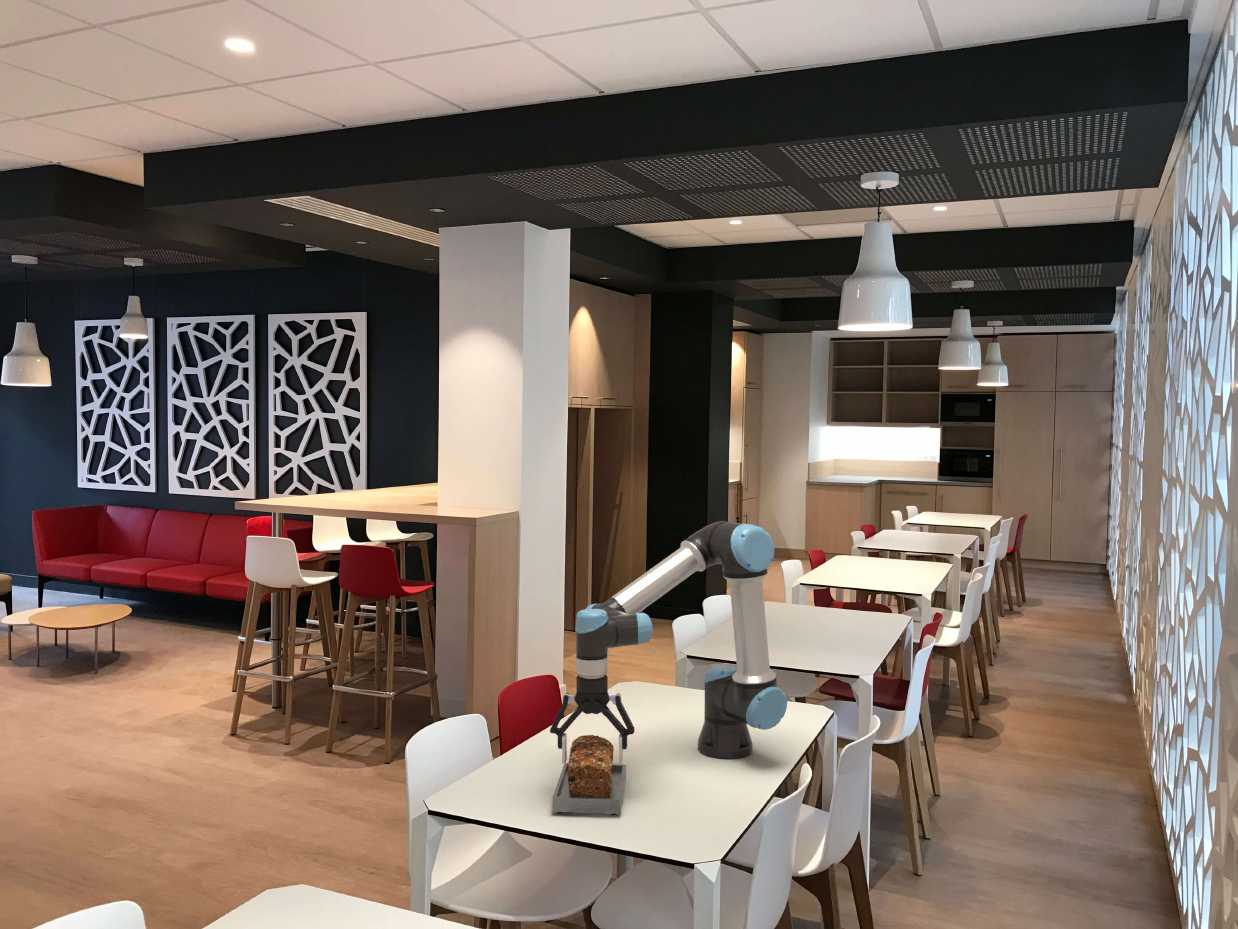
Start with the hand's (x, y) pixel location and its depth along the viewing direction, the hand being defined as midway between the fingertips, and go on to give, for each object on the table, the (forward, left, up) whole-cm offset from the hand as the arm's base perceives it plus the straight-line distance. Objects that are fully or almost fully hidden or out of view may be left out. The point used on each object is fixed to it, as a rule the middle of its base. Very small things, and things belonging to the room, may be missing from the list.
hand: (592, 762), depth 231 cm
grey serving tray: (0, 0, -8) cm, 9 cm away
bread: (0, 0, -6) cm, 6 cm away
